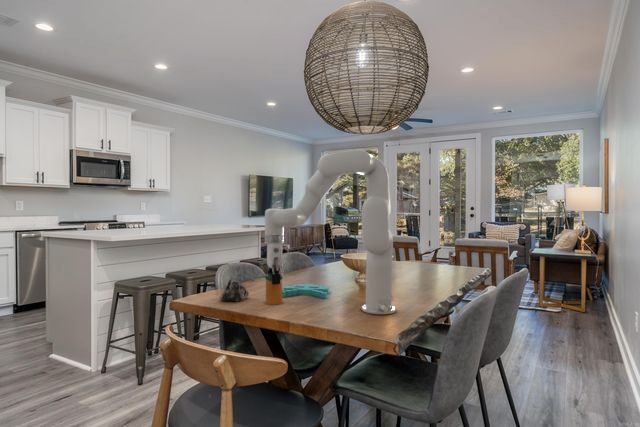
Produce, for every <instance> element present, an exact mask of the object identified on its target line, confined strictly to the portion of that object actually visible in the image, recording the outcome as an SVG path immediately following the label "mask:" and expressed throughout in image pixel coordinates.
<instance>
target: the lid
mask: <svg viewBox="0 0 640 427" xmlns="http://www.w3.org/2000/svg"><path fill="white" fill-rule="evenodd" d="M264 279H265V281H266V280H271V281H272V274H268V273H267V274H265V276H264ZM283 279H284V275H283V274H282V273H280V280H282V281H283Z"/></svg>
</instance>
